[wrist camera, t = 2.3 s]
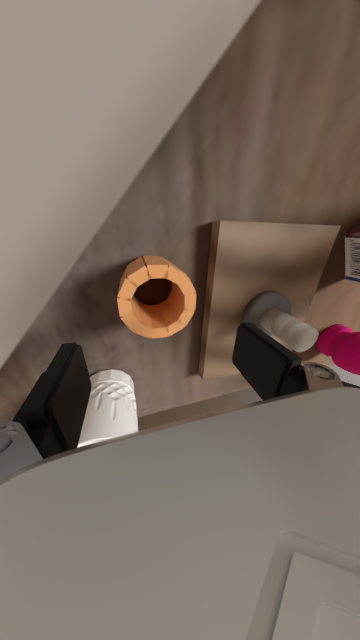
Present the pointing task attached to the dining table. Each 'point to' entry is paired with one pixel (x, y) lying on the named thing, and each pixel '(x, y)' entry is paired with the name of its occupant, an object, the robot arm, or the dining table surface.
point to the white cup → (109, 408)
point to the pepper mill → (341, 347)
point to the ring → (164, 315)
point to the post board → (260, 286)
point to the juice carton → (352, 254)
